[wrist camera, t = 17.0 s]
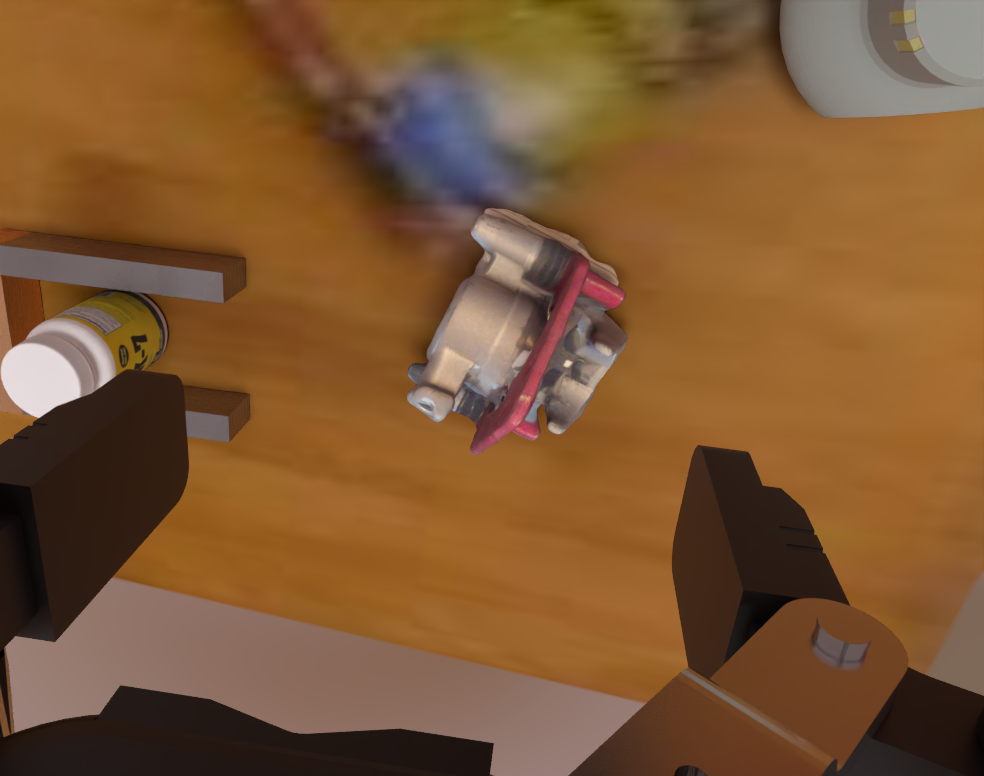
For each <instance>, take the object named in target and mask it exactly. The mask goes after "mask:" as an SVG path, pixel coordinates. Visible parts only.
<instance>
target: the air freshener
mask: <svg viewBox="0 0 984 776" xmlns="http://www.w3.org/2000/svg"><path fill="white" fill-rule="evenodd" d="M779 29H780V38H781V46H782V52H783V56H784V59H785V63H786V66H787V69H788V72H789V74H790V76H791V78H792V80H793V82H794V84H795V86H796V88H797V90H798V91H799V93H800V94H801V95H802V97H803V98H804V99H805V101H806V102H807V103H808V105H809V106H810V107H811V108H812V109H813V110H814V111H816V112H817V113H818V114H819V115H820V116H822V117H833V118H851V117H880V116H898V115H913V114H926V113H938V112H949V111H959V110H968V109H976V108H983V107H984V0H781V5H780V27H779Z"/></svg>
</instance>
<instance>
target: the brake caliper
mask: <svg viewBox="0 0 984 776" xmlns="http://www.w3.org/2000/svg"><path fill="white" fill-rule="evenodd" d="M471 235H472V237H473V238H474V239H475V240H476V241H477V242H478V243H479V244H480V245H481V247H483V248H484V250H485V252H484V255H483V256H482V258H481V259H480V261H479V262H478V264H477V266H476V269H475V272H474V274H473V275H472V276H470V277H468V278H466V279H465V280H464V281H463V282H462V283H461V284H460V285H459V287H458V289H457V291H456V293H455V296H454V298H453V300H452V302H451V304H450V305H449V307H448V309H447V311H446V313H445V315H444V317H443V319H442V321H441V323H440V324H439V326H438V328H437V330H436V333H435V335H434V337H433V339H432V342H431V344H430V345H429V347H428V349H427V359H428V360H429V362H428V363H425V364H419V363H414V364H412V365H411V366H410V367H409V369H408V376H409V378H410V379H411V380H412V381H414V382H415V383H416V384H417V385H416V386H415V387H413V388H412V389H411V390H410V391H409V393H408V396H407V400H408V402H409V403H410V404H412V405H413V406H415V407H416V408H418V409H419V410H420V411H421V412H423V413H424V414H426V415H427V416H429V417H430V418H431V419H432V420H433V421H435V422H440V421H442V420H443V419H444V418H445V417H446V416H447V415H448V414H449V413H450V412H451V411H452V410H453V411H454V412H457V413H460V414H462V415H465V416H467V417H469V418H470V419H471V420H472V421H473V422H474V423H475V424H476V427H477V431H476V433H475V435H474V439H473V442H472V444H471V447H470V450H471V452H472V453H473V454H474V455H478V454H480V453H482V452H483V451H484V450H486V449H487V448H489V447H490V446H492V445H494V444H496V443H497V442H498V441H499V440H500V439H502V438H503V437H504V436H505V435H507V434H508V433H510V432H511V431H512V432H514V433H516V434H518V435H520V436H522V437H524V438H526V439H529V440H532V441H534V440H536V439H537V438H538V437H539V435H540V432H541V431H540V427H539V422H538V419H537V409H538V407H539V406H540V405H541V404H543V405H544V406H545V412H546V416H547V427H548V429H549V430H550V431H551V432H553V433H555V434H561V433H563V432H565V430H566V429H568V427H569V426H570V425H571V424H572V423H573V422H574V421H575V420H577V419H578V418H579V417H580V416H581V414H582V412H583V410H584V409H585V407H586V405H587V404H588V403H589V401H590V400H591V398H592V396H593V394H594V391H595V388H596V386H597V384H598V383H599V381H600V380H601V379H602V377H603V376H604V375H605V373H606V372H607V371H608V369H609V368H610V367H611V366H612V365H613V363H614V362H615V361H616V359H617V357H618V356H619V354H620V353H621V352H622V351H623V349H624V348H625V346H626V343H627V338H628V336H627V333H626V332H624V331H623V330H622V329H621V328H620V327H619V326H618V325H617V324H616V323H615V322H614V321H613V320H612V319H611V318H610V317H609V316H608V315H607V314H606V313H605V312H604V311H606V310H611V309H614V308H616V307H618V306H619V305H620V304H621V303H622V302H623V301H624V299H625V297H626V293H625V291H624V290H623V289H621V288H620V287H618V279H617V276H616V273H615V270H614V269H613V267H612V266H611V265H610V264H606V263H600V262H597V261H595V260H594V259H592V258H591V257H590V256H589V254H588V252H587V250H586V248H585V247H584V245H583V244H582V243H581V242H580V241H579V240H577V239H575V238H573V237H571V236H569V235H568V234H566V233H563V232H559V231H557V230H554V229H549V228H546V227H544V226H542V225H540V224H538V223H535V222H533V221H531V220H530V219H529V218H527V217H525V216H523V215H521V214H519V213H515V212H512V211H510V210H507V209H494V208H488V209H486V210H485V212H484V214H481V215H480V216H479V217H478V218H477V219H476V220H475V222H474V223H473V225H472V228H471Z"/></svg>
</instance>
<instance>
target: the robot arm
mask: <svg viewBox="0 0 984 776" xmlns="http://www.w3.org/2000/svg"><path fill="white" fill-rule="evenodd" d="M188 471H189V458H188V443H187V427H186V412H185V397H184V388H183V384H182V382H181V380H180V378H179V377H178V376H176V375H172V374H164V373H156V372H149V371H141V370H134V369H126V370H124V371H122V372H121V373H120V374H118V375H117V376H115V377H114V378H113V379H111V380H110V381H108V382H107V383H105V384H104V385H103V386H101V387H100V388H98V389H97V390H96V391H94V392H93V393H91V394H88V395H86V396H83V397H80V398H77V399H75V400H72V401H69V402H67V403H64V404H61V405H58V406H56V407H54V408H53V409H52V410H50V411H49V412H47V413H46V414H44V415H43V416H41V417H40V418H39V419H37V420H36V421H34V422H33V425H32V426H29V425H28V426H27V427H25V428H24V429H23V430H21V431H20V432H18V433H17V434H15V435H14V438H13V439H8V440H7V441H5V442H4V443H2V444H1V445H0V776H493V775H491V774H490V768H491V761H492V753H493V745H494V743H488V742H482V741H475V740H469V739H463V738H456V737H450V736H443V735H437V734H430V733H424V732H417V731H411V730H405V729H387V730H369V731H351V732H333V733H315V734H298V733H292V732H289V731H286V730H284V729H281V728H279V727H277V726H274V725H272V724H269V723H267V722H264V721H262V720H259V719H257V718H255V717H252V716H250V715H247V714H245V713H242V712H240V711H237V710H235V709H233V708H230V707H228V706H225V705H223V704H220V703H218V702H215V701H213V700H211V699H204V698H198V697H192V696H186V695H179V694H173V693H166V692H160V691H153V690H146V689H140V688H134V687H128V686H120V687H119V688H118V690H117V691H116V692H115V694H114V695H113V696H112V698H111V699H110V701H109V702H108V703H107V705H106V706H105V707H104V709H103V710H102V712H101V713H100V714H99V715H88V716H81V717H75V718H68V719H62V720H58V721H54V722H49V723H45V724H41V725H38V726H35V727H32V728H29V729H25V730H22V731H19V732H16V733H15V729H14V719H13V707H12V695H11V686H10V673H9V664H8V659H7V653H6V648H5V646H6V645H7V644H8V643H9V642H10V641H11V640H12V639H13V638H14V637H15V636H20V637H26V638H32V639H39V640H45V641H52V642H55V641H56V640H57V639H58V638H59V637H60V636H61V635H62V634H63V632H64V631H65V630H66V629H67V628H68V627H69V626H70V624H71V623H72V622H73V621H74V620H75V619H76V617H78V615H79V614H80V613H81V612H82V611H83V610H84V609H85V607H86V606H87V605H88V604H89V603H90V602H91V601H92V599H93V598H94V597H95V596H96V595H97V594H98V593H99V592H100V590H101V589H102V588H103V587H104V586H105V585H106V584H107V582H108V581H109V580H110V579H111V578H112V577H113V576H114V575H115V573H116V572H117V571H118V570H119V569H120V568H121V567H122V565H123V564H124V563H125V562H126V561H127V560H128V559H129V557H130V556H131V555H132V554H133V553H134V552H135V551H136V550H137V548H138V547H139V546H140V545H141V544H142V543H143V542H144V540H145V539H146V538H147V537H148V536H149V535H150V534H151V533H152V531H153V530H154V529H155V528H156V527H157V526H158V525H159V523H160V522H161V521H162V520H163V519H164V518H165V517H166V515H167V514H168V513H169V512H170V511H171V510H172V509H173V508H174V506H175V505H176V504H177V503H178V501H179V500H180V498H181V496H182V494H183V492H184V489H185V486H186V483H187V478H188ZM672 573H673V579H674V585H675V591H676V597H677V603H678V609H679V615H680V620H681V626H682V632H683V638H684V644H685V650H686V656H687V661H688V667H689V668H688V669H685V670H683V671H682V672H680V673H679V674H678V675H677V676H675V677H674V678H673V679H672V680H671V681H670V682H669V683H668V684H667V685H666V686H665V687H664V688H663V689H661V690H660V691H659V692H658V693H657V694H656V695H655V696H654V697H653V698H652V699H651V700H650V701H649V702H647V703H646V704H645V705H644V706H643V707H642V708H641V709H640V710H639V711H638V712H637V713H636V714H635V715H633V716H632V717H631V718H630V719H629V720H628V721H627V722H626V723H625V724H624V725H623V726H622V727H620V729H618V730H617V731H616V732H615V733H614V734H613V735H612V736H611V737H610V738H609V739H608V740H606V741H605V742H604V743H603V744H602V745H601V746H600V747H599V748H598V749H597V750H596V751H595V752H594V753H593V754H591V756H589V757H588V758H587V759H586V760H585V761H584V762H583V763H582V764H581V765H580V766H578V767H577V768H576V770H574V771H573V772H572V773H571V774H570V775H569V776H984V696H982V695H980V694H977V693H974V692H971V691H968V690H966V689H962V688H960V687H957V686H954V685H951V684H948V683H945V682H943V681H940V680H937V679H934V678H932V677H929V676H927V675H924V674H922V673H920V672H918V671H916V670H913V669H911V668H909V667H908V661H909V660H908V656H907V652H906V650H905V648H904V646H903V644H902V643H901V642H900V640H899V639H898V638H897V637H896V635H895V634H894V633H893V632H892V631H891V630H890V629H888V628H887V627H886V626H885V625H884V624H882V623H881V622H879V621H878V620H877V619H875V618H874V617H872V616H870V615H868V614H866V613H865V612H863V611H861V610H858V609H856V608H854V607H852V606H850V604H849V602H848V600H847V598H846V596H845V594H844V592H843V590H842V588H841V585H840V583H839V581H838V579H837V577H836V575H835V573H834V571H833V569H832V567H831V564H830V562H829V560H828V558H827V556H826V554H825V553H823V548H822V546H821V543H820V541H819V539H818V537H817V535H814V529H813V527H812V525H811V522H810V520H809V518H808V516H807V514H806V512H805V510H804V508H802V507H801V506H800V505H799V504H798V503H797V502H796V501H795V500H793V499H792V498H791V497H790V496H789V495H788V494H787V493H786V492H784V491H783V490H782V489H781V488H775V487H767V486H763V485H762V483H761V481H760V478H759V476H758V473H757V471H756V468H755V466H754V463H753V461H752V459H751V456H750V454H749V453H748V452H746V451H738V450H731V449H723V448H716V447H708V446H701V445H698V446H697V447H696V449H695V450H694V453H693V456H692V460H691V464H690V468H689V473H688V477H687V482H686V486H685V490H684V495H683V499H682V504H681V508H680V513H679V517H678V522H677V526H676V531H675V536H674V542H673V552H672Z"/></svg>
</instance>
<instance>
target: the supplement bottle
mask: <svg viewBox="0 0 984 776" xmlns="http://www.w3.org/2000/svg"><path fill="white" fill-rule="evenodd" d="M167 338H168V331H167V325H166V321H165V319H164V317H163V315H162V313H161V311H160V310H159V308H158V307H157V306H156V305H155V304H154V303H153V302H152V301H151V300H150V299H149V298H147V297H146V296H144V295H143V294H141V293H139V292H132V291H124V290H116V289H108V290H106V291H103V292H101V293H99V294H97V295H95V296H93V297H91V298H89V299H87V300H85V301H83V302H81V303H79V304H77V305H75V306H73V307H71V308H69V309H67V310H65V311H64V312H62V313H60V314H58V315H56V316H54V317H52V318H50V319H48V320H46V321H44V322H42V323H41V324H39V325H38V326H36V327H35V328H34V329H33V330H32V331H31V332H30V333H29V335H28V336H27V338H26V340H24V341H23V342H21V343H19V344H18V345H16V346H14V347H13V348H11V349H10V350H9V351H8V352H7V354H6V355H5V357H4V358H3V361H2V365H1V379H2V382H3V385H4V388H5V390H6V391H7V393H8V395H9V396H10V398H11V399H12V400H13V401H14V403H15V404H16V405H18V406H19V407H20V408H21V409H22V410H24V411H25V412H27V413H29V414H31V415H33V416H35V417H38V418H40V417H41V416H43V415H44V414H46V413H47V412H49V411H50V410H52V409H53V408H54V407H56V406H58V405H61V404H64V403H67V402H69V401H72V400H75V399H77V398H80V397H83V396H86V395H88V394H91V393H93V392H94V391H96V390H97V389H98V388H100V387H101V386H103V385H104V384H105V383H107V382H108V381H110V380H111V379H113V378H114V377H115V376H117V375H118V374H120V373H121V372H122V371H124V370H126V369H134V370H141V371H143V370H144V369H146V368H147V367H149V366H150V365H151V364H153V363H154V362H155V361H156V360H157V359H158V358H159V357H160V356H161V355H162V353H163V352H164V350H165V347H166V344H167Z"/></svg>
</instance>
